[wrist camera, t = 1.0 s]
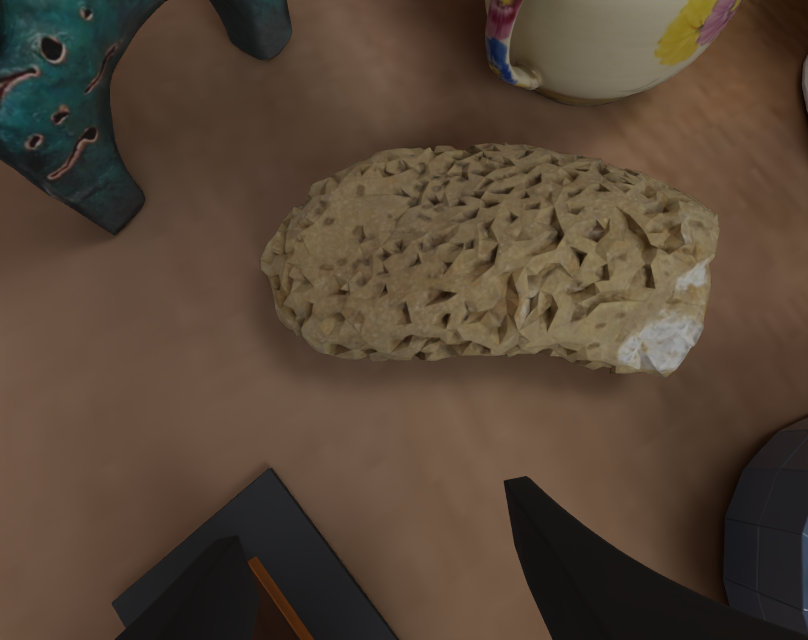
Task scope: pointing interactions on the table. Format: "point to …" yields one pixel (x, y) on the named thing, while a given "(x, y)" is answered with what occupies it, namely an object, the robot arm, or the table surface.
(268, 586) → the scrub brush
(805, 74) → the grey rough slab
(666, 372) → the sponge
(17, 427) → the table surface
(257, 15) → the green creature figure
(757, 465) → the bowl
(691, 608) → the robot arm
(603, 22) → the teapot
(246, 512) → the mat
